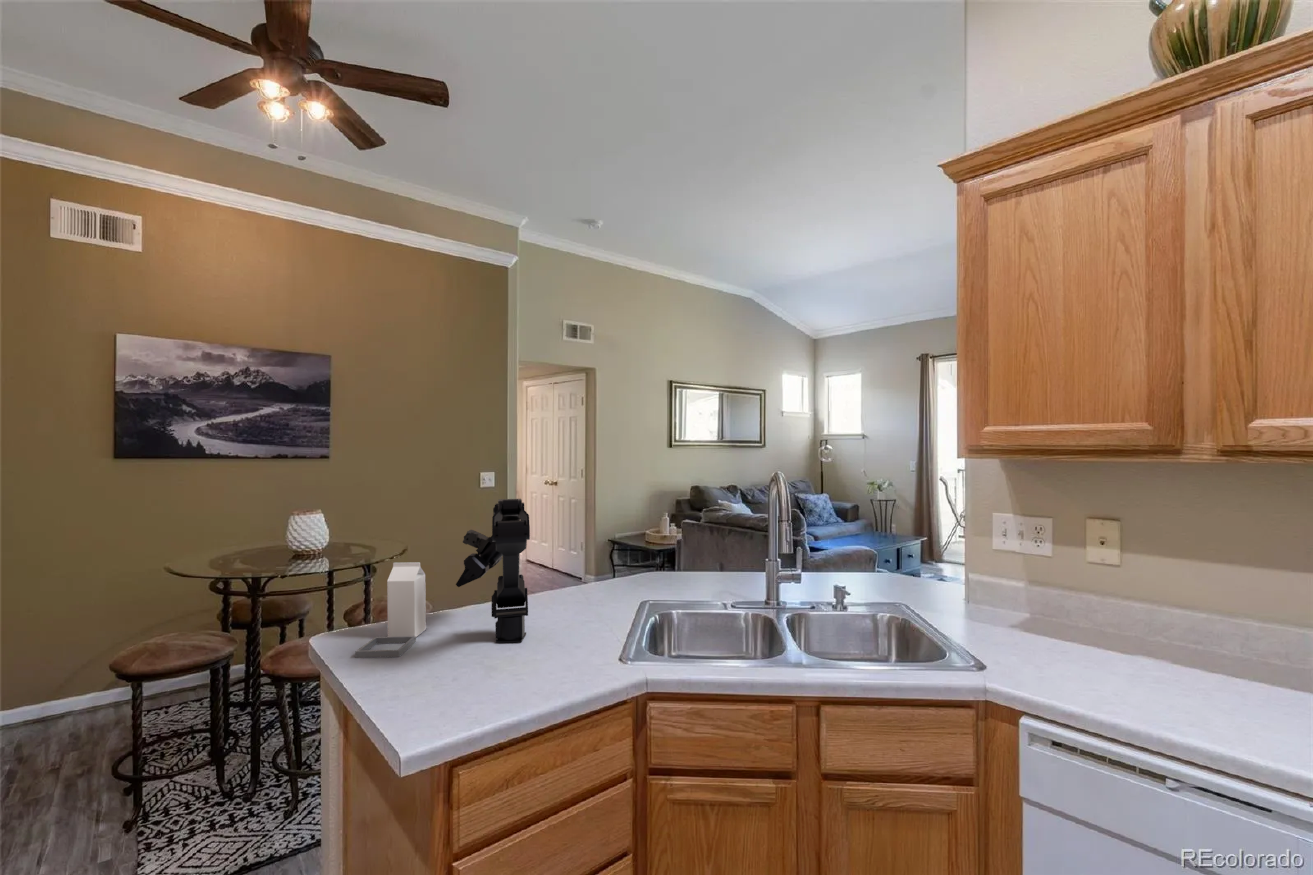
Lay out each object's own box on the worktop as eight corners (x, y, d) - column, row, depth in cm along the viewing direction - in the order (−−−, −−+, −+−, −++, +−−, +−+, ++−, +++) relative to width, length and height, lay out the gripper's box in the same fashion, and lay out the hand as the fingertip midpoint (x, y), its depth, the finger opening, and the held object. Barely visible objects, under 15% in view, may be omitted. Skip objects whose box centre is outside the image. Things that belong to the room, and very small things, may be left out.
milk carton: (414, 639, 149) (414, 565, 149) (387, 639, 149) (387, 565, 149) (426, 630, 156) (425, 559, 156) (399, 630, 156) (399, 560, 157)
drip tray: (415, 642, 147) (415, 636, 147) (398, 657, 136) (398, 650, 136) (375, 643, 146) (375, 637, 146) (355, 658, 136) (355, 651, 136)
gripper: (490, 515, 168) (452, 554, 167) (471, 524, 149) (428, 568, 148) (518, 542, 168) (480, 581, 167) (502, 555, 149) (459, 598, 149)
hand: (462, 581), depth 158 cm, fingers open, 9 cm apart
